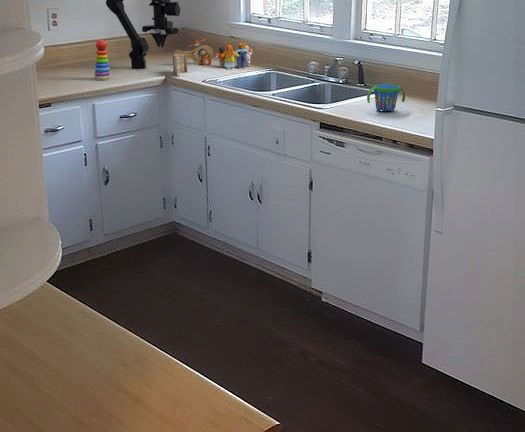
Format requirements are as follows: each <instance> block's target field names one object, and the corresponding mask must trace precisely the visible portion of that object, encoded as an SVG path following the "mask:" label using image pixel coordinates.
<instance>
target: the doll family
mask: <svg viewBox="0 0 525 432" xmlns="http://www.w3.org/2000/svg"><path fill="white" fill-rule="evenodd" d="M237 46H238V49H236V50H234V48H233V46H232V45H231V44H227V45H226V47H223V46H222V47H221V46H220V47H219V48H218V53H216V56H215V59H218V58H219V60H218V62H219V68H221V69H222V68H223V69H225V70H227V71H232V70H233V71H234V70H235V68H234V67H235V62H236V68H237V69H239V70H240V69H245V68H250V67H251V65H250V64H251V56H252V54H253V53H254V52H253V49H252V48H250V47H249V45H246V42H239V43H238V44H237ZM235 57H237V59H235ZM236 60H237V61H236Z"/></svg>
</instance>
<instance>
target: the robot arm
mask: <svg viewBox="0 0 525 432" xmlns="http://www.w3.org/2000/svg"><path fill="white" fill-rule="evenodd" d="M124 1H125V0H105V5H106V7H107V9H109V11H110V12H112V13H113V15H115V16H116V18H117V19H118V21H119V23H120V25H121V26H122V28H123V30H124V31H125V33H126V35H127V36H128V38H129V41H130V46H131V47H130V48H131V49H132V50H131V51H130V52H129V53H128V56H129V59H130V62H131V65H130V66H131V69H132V70H145V69H146V68H147V60H146V58H145V57H146V56H147V53H148V52H149V51H150V50H149V49H150V46H149V43H148V41H147V40H146V37H141V36H140V35H139V34H138V31H137V30H136V28H135V27H134V24H133V23H132V22H131V21H132V20H130V18H129V15H127V13H126V10H125V4H124ZM148 5H149V7H152V8H153V9H152V11H153V17H152V18H151V20H152V21H153V24H148V25H146V24H145V25H143V26H142V27H141V32H142V33H147V32H148V31H149V32H150V33H149V35H151V36H152V38H153V40H154V42H155V43H156V46H157V47H158V48H160V47H161V48H164V47H165V42H166V40H167V37H168V36H169V35H175V34H179V28H178V27H175V26H174V22H173V21H172V20H171V21H170V20H168V17H167V16H169V17H171V16H172V17H179V16H180V14H181V7H180V4H179V2H178V1H171V0H151V2H150V3H149V4H148Z"/></svg>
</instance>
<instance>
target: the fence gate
mask: <svg viewBox="0 0 525 432" xmlns="http://www.w3.org/2000/svg"><path fill="white" fill-rule="evenodd" d="M172 64H173V65H172V66H173V67H172V69H173V73H175V75H176V76H177V77H181V72H180V57H179V56H178V55H177V53H174V52H173V53H172Z"/></svg>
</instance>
